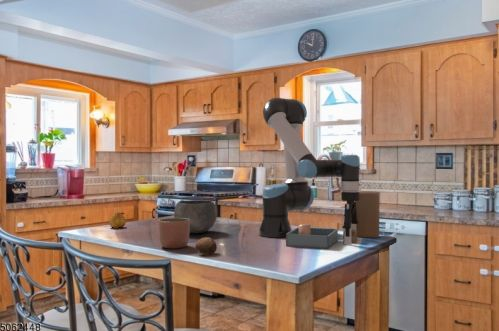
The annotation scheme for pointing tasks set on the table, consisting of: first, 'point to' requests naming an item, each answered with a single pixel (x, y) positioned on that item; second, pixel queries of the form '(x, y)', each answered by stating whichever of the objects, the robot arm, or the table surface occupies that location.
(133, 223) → the table surface
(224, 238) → the table surface
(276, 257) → the table surface
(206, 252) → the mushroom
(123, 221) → the fruit
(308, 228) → the peach colored egg
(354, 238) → the walnut cube
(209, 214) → the bowl
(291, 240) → the tote
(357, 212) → the wooden block
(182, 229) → the planter
